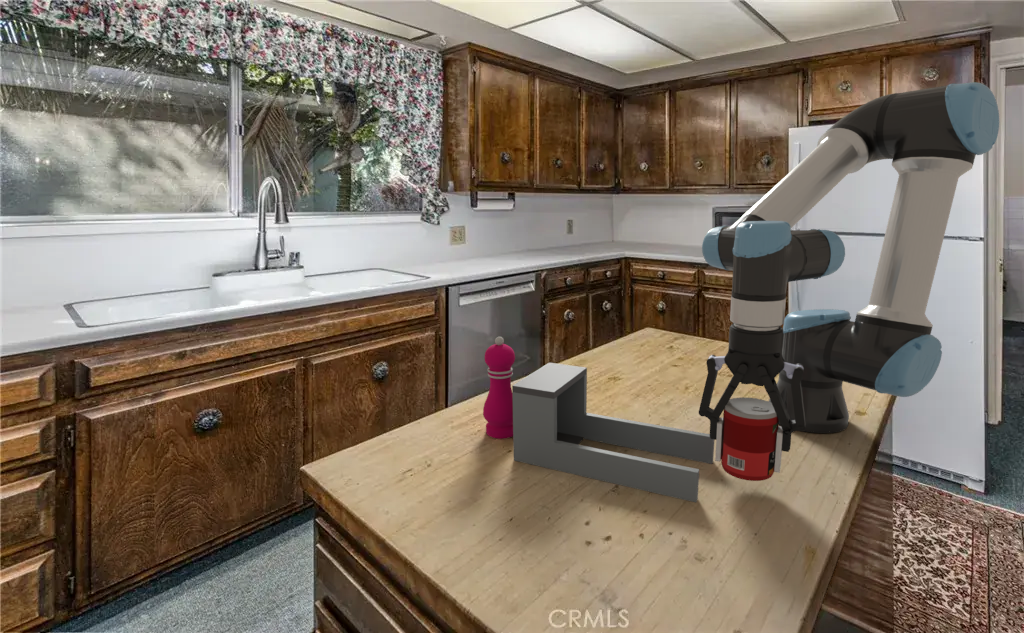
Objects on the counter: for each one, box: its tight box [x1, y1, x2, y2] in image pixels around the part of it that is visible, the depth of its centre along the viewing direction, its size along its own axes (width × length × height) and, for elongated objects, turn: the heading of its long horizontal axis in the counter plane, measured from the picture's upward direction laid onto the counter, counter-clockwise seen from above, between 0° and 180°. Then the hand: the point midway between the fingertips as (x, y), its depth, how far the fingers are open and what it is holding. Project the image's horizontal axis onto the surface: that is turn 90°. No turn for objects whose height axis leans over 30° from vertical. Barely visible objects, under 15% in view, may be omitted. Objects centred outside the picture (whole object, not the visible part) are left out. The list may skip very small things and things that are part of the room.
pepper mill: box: [482, 336, 516, 440], centre depth 112 cm, size 7×7×20 cm
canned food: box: [720, 396, 780, 482], centre depth 90 cm, size 8×8×11 cm
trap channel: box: [511, 362, 715, 503], centre depth 100 cm, size 32×15×14 cm, turn 62°
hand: (747, 462), depth 90 cm, fingers closed on canned food, 8 cm apart
